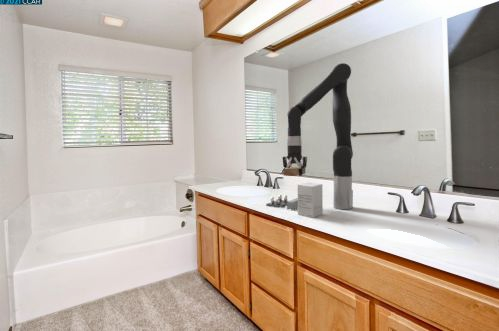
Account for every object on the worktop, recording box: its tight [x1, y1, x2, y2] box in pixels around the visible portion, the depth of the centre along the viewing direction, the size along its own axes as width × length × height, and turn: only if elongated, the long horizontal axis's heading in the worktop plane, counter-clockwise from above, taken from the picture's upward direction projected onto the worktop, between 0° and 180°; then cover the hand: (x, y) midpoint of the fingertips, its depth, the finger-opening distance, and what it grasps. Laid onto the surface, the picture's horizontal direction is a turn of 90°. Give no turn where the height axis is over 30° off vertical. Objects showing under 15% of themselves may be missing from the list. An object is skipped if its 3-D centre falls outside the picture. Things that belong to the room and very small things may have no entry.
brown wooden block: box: [283, 166, 306, 177], centre depth 150 cm, size 14×6×4 cm, turn 145°
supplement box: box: [297, 182, 324, 218], centre depth 134 cm, size 9×9×15 cm
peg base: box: [265, 194, 289, 208], centre depth 158 cm, size 9×14×4 cm, turn 145°
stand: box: [286, 197, 298, 211], centre depth 151 cm, size 14×3×4 cm, turn 144°
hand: (294, 175), depth 150 cm, fingers closed on brown wooden block, 6 cm apart
